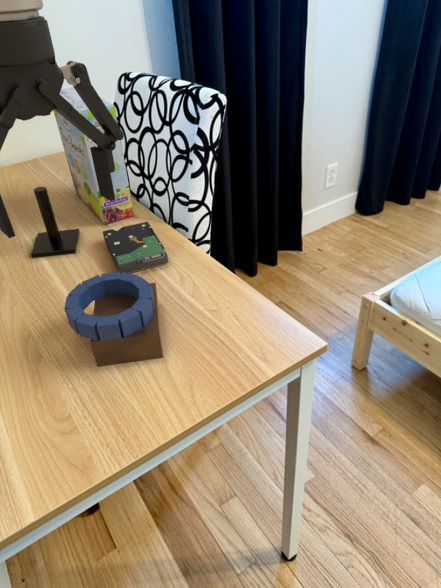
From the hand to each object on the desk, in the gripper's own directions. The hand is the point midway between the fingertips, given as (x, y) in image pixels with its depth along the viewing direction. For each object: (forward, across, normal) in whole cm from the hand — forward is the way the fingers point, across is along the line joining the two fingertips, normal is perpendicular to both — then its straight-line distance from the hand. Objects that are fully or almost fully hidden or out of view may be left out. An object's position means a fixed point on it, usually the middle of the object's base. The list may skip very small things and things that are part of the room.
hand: (61, 214), depth 55 cm
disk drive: (+23, +20, +19) cm, 36 cm away
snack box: (+23, +27, +44) cm, 56 cm away
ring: (+18, +4, 0) cm, 18 cm away
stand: (+23, +5, -2) cm, 24 cm away
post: (+23, +9, +34) cm, 42 cm away
